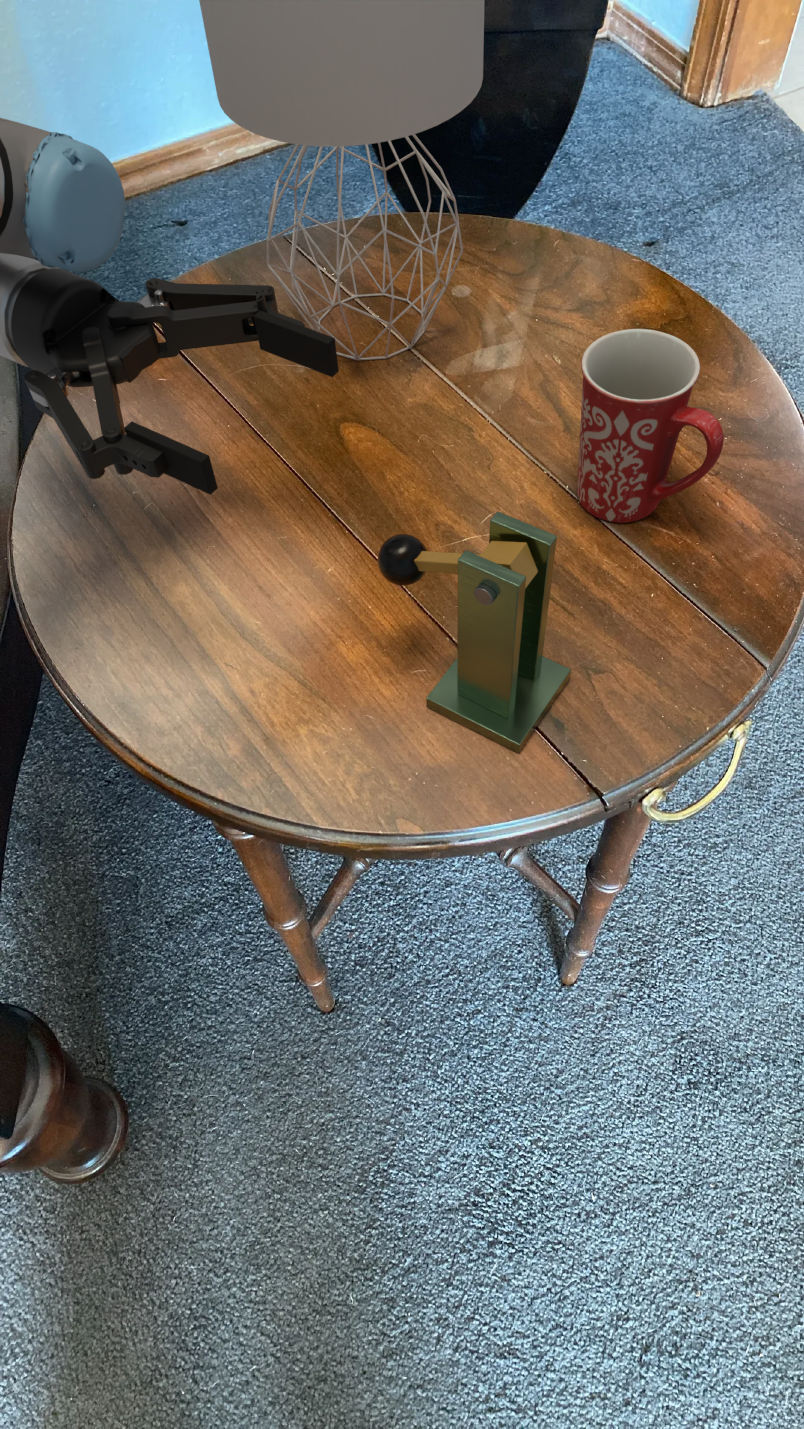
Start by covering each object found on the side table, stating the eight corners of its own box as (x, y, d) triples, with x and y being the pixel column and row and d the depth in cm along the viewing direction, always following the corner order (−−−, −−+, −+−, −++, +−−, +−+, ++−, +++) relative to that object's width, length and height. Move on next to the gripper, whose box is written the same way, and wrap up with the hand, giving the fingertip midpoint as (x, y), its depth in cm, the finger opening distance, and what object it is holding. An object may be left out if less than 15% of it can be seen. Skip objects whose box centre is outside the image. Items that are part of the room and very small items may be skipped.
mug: (543, 494, 86) (556, 363, 75) (611, 445, 89) (634, 312, 78) (655, 570, 80) (688, 441, 69) (724, 515, 83) (765, 383, 72)
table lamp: (226, 312, 103) (117, -186, 70) (403, 242, 109) (379, -248, 76) (331, 425, 92) (260, -104, 59) (521, 339, 98) (554, -184, 65)
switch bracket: (426, 706, 74) (419, 563, 61) (479, 636, 77) (485, 486, 64) (518, 753, 71) (532, 614, 58) (570, 678, 74) (594, 530, 61)
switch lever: (380, 594, 70) (359, 554, 68) (408, 562, 71) (388, 522, 69) (519, 608, 62) (500, 563, 60) (546, 571, 63) (529, 527, 61)
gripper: (169, 280, 80) (382, 359, 73) (-58, 459, 69) (166, 573, 62) (145, 189, 74) (375, 265, 67) (-110, 370, 63) (133, 485, 56)
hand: (275, 414), depth 64 cm, fingers open, 13 cm apart
